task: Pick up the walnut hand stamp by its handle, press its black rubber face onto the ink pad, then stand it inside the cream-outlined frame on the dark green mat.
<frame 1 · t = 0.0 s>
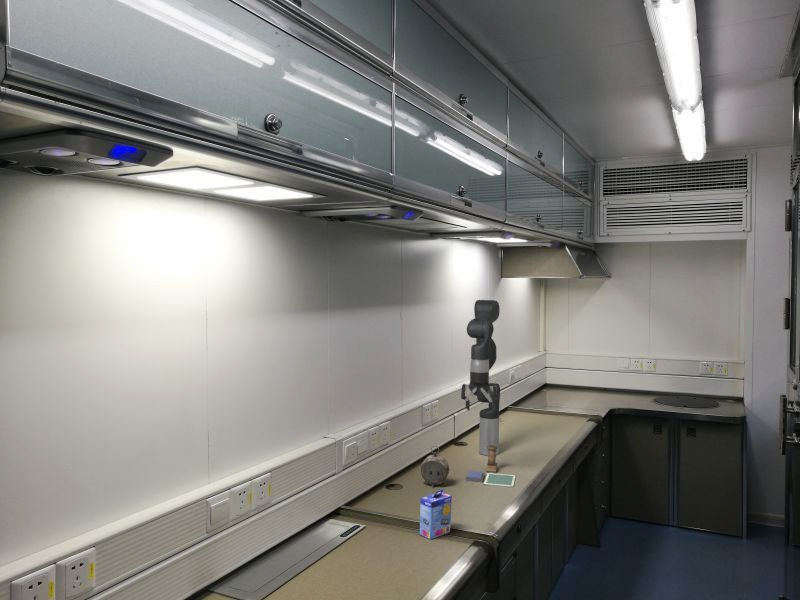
hand: (478, 410, 254), 29 cm above the table, tool pointing down, fingers open, 8 cm apart
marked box: (500, 480, 259), on the table
ink pad: (475, 478, 261), on the table
alarm clock: (434, 486, 251), on the table
ink cartridge box: (435, 534, 204), on the table
stamp: (491, 470, 272), on the table
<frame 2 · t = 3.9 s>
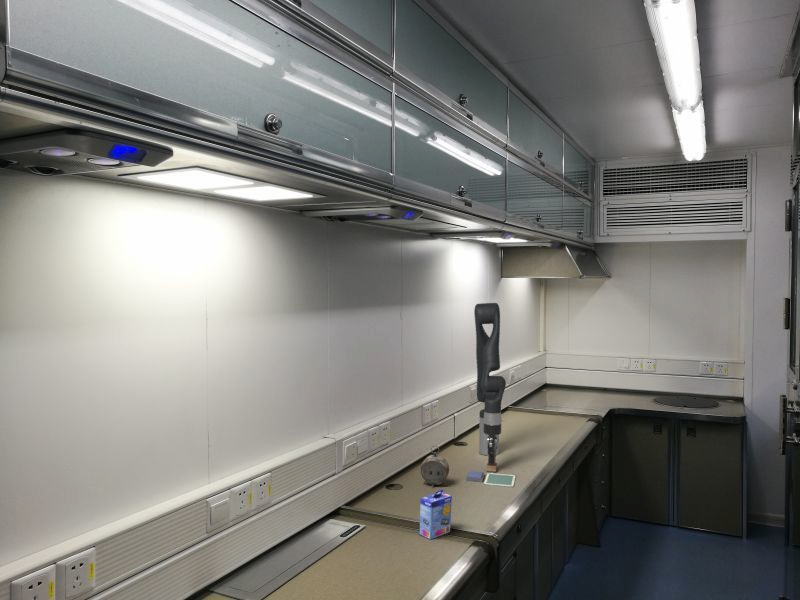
hand: (491, 462, 272), 4 cm above the table, tool pointing down, fingers closed on stamp, 3 cm apart
stamp: (491, 470, 272), on the table, touching gripper
everything else where it was.
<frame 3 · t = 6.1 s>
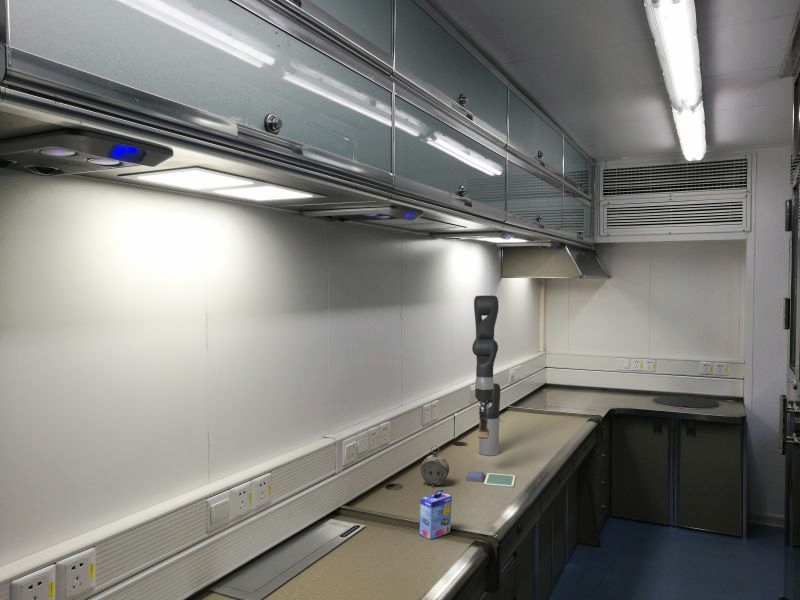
hand: (483, 428, 265), 20 cm above the table, tool pointing down, fingers closed on stamp, 3 cm apart
stamp: (483, 437, 265), point 16 cm above the table, touching gripper
everything else where it was.
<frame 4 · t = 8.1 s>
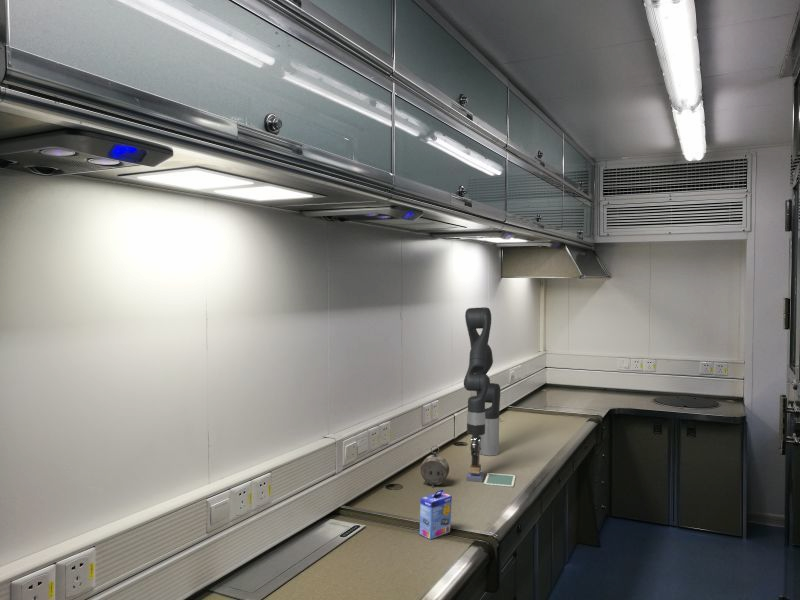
hand: (475, 463, 261), 6 cm above the table, tool pointing down, fingers closed on stamp, 3 cm apart
stamp: (475, 472, 261), point 2 cm above the table, touching gripper
everything else where it was.
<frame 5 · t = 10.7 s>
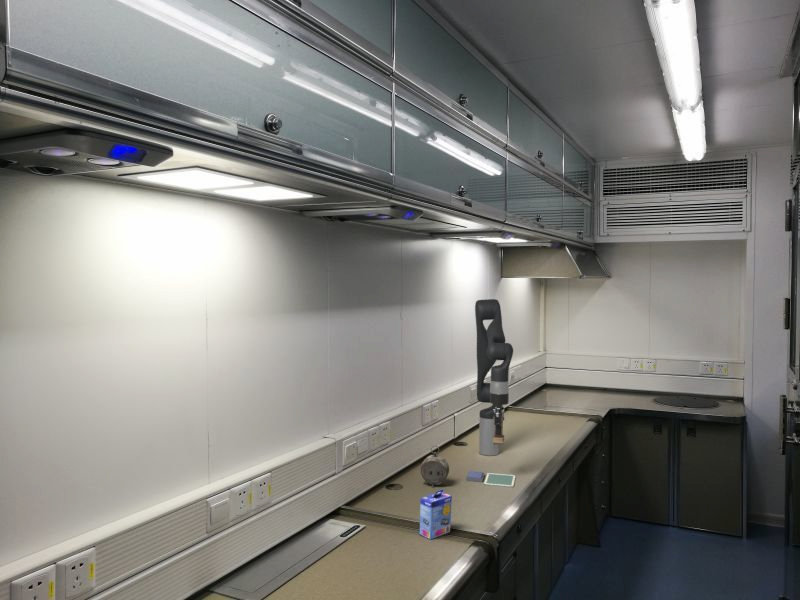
hand: (498, 433, 258), 19 cm above the table, tool pointing down, fingers closed on stamp, 3 cm apart
stamp: (498, 442, 258), point 15 cm above the table, touching gripper
everything else where it was.
when the fingers open (5 cm above the table, at t = 12.7 s): stamp stays where it is, resting on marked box.
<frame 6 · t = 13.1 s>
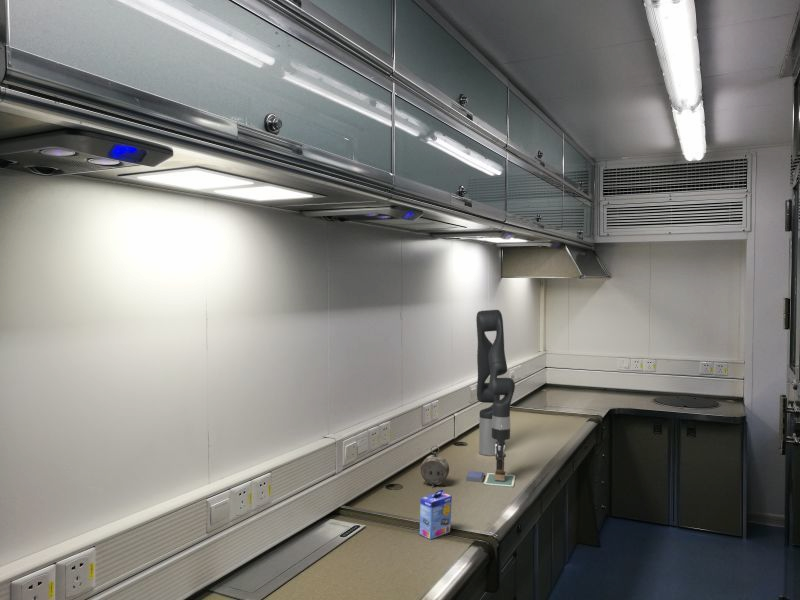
hand: (500, 466, 259), 6 cm above the table, tool pointing down, fingers open, 7 cm apart
stamp: (500, 479, 259), resting on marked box
everything else where it was.
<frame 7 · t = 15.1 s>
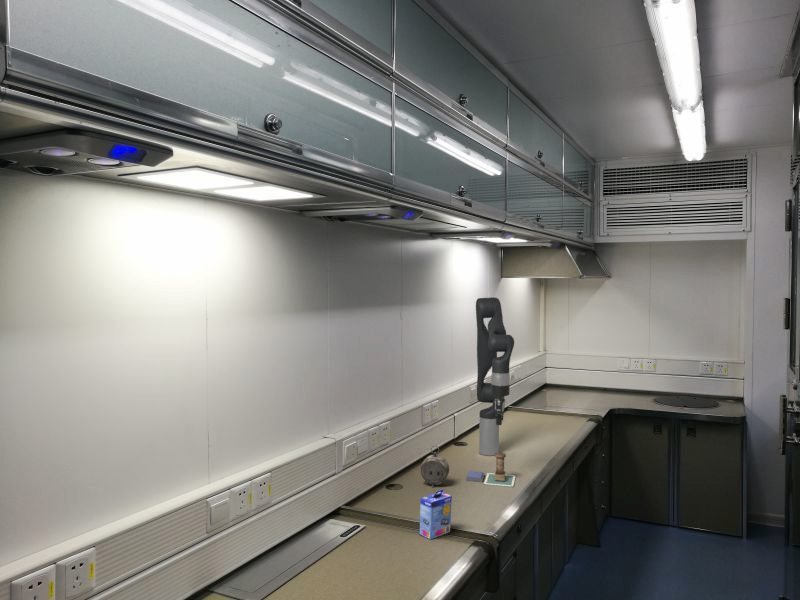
hand: (499, 422, 259), 23 cm above the table, tool pointing down, fingers open, 8 cm apart
nothing on the table moved.
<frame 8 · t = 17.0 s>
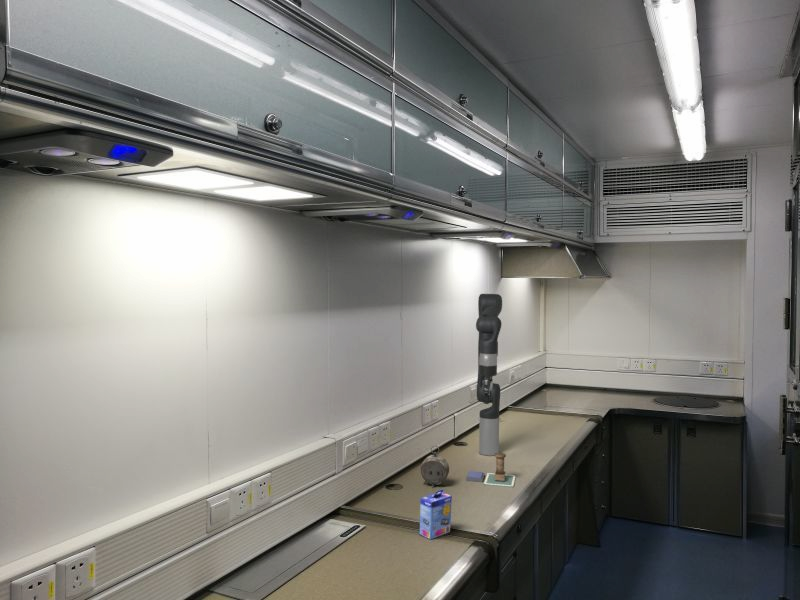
hand: (487, 401, 269), 30 cm above the table, tool pointing down, fingers open, 8 cm apart
nothing on the table moved.
at the end: stamp 0.0 cm off-centre on the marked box, point 0.3 cm above the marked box's base; stamp tilted 0°; the gripper is holding nothing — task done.
